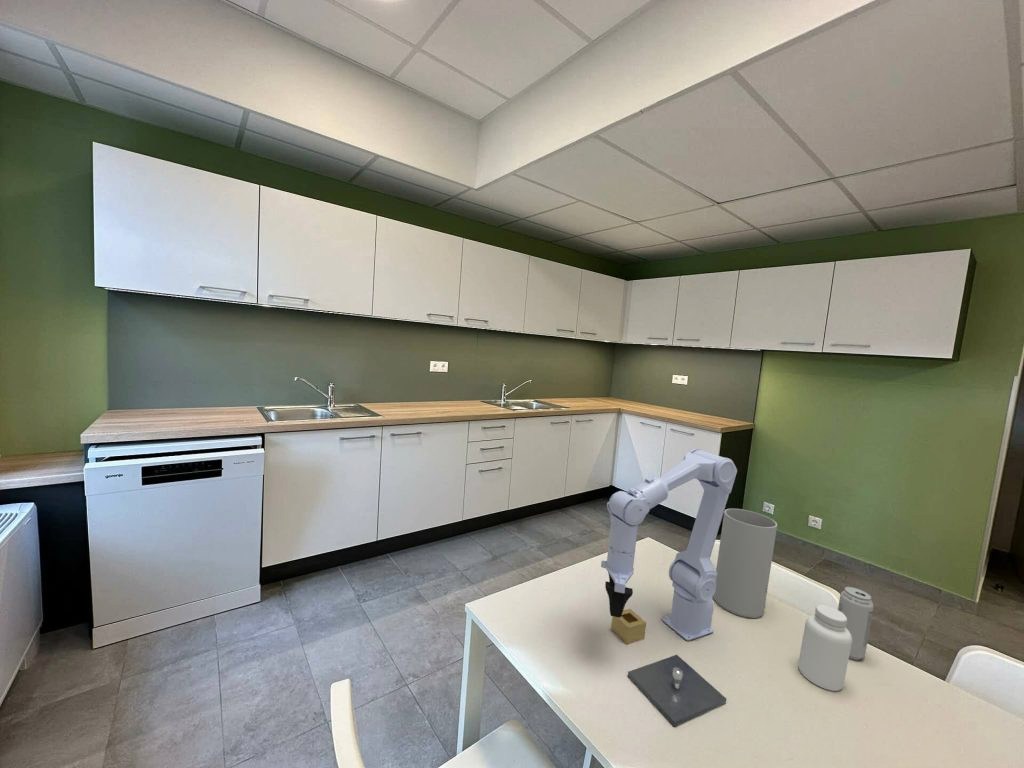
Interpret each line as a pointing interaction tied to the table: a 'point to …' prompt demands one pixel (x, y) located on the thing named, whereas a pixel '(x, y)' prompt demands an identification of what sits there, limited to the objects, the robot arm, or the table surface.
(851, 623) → the energy drink can
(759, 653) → the table surface
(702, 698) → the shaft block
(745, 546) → the cylinder vase
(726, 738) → the table surface
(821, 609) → the pill bottle
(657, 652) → the table surface
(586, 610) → the table surface
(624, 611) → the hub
